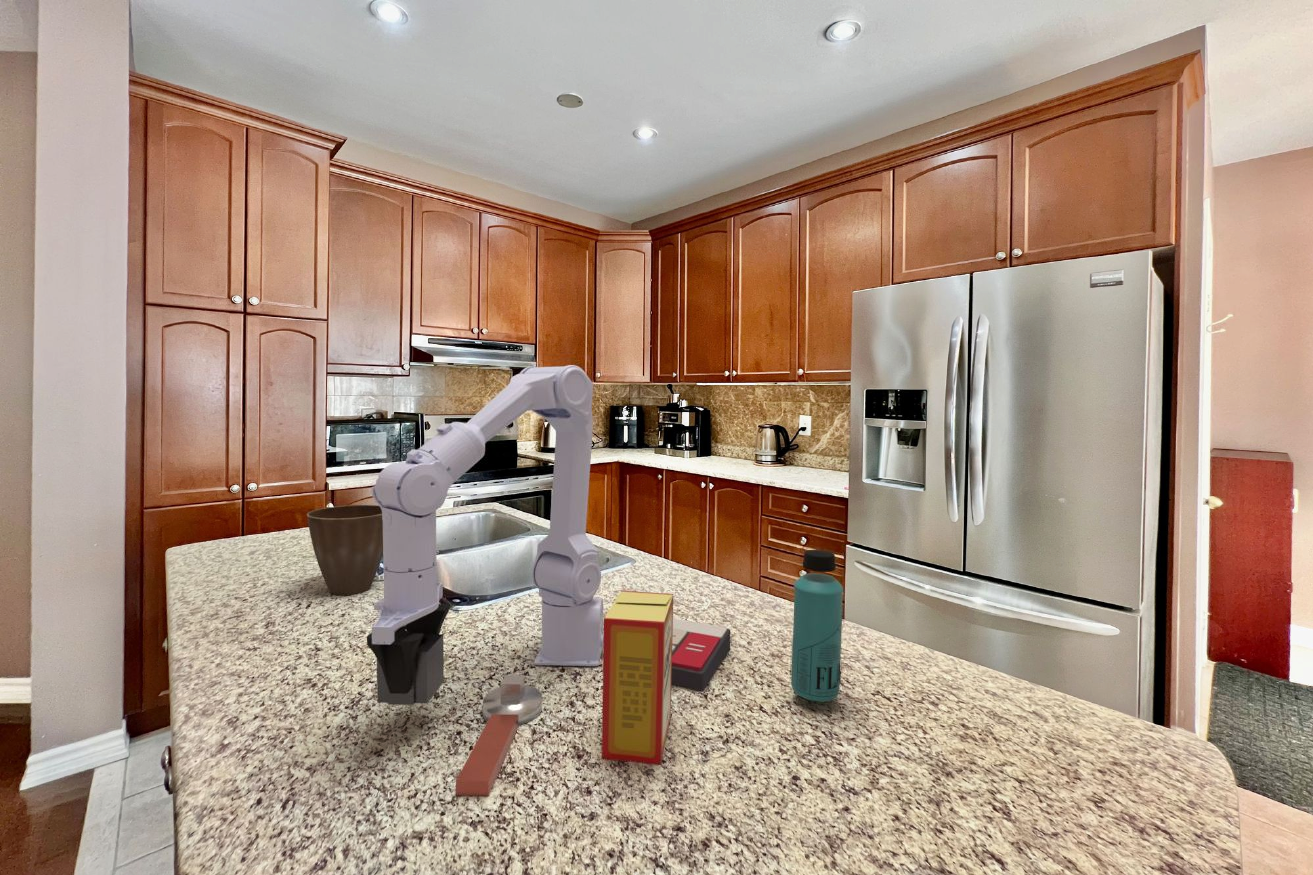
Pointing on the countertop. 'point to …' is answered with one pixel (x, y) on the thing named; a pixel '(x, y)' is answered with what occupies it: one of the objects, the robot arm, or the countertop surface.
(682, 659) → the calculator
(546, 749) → the countertop surface
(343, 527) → the plant pot
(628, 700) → the baking soda box
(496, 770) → the ratchet
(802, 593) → the beverage bottle
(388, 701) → the socket
